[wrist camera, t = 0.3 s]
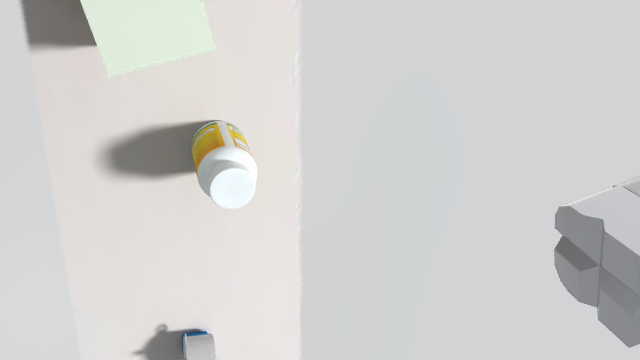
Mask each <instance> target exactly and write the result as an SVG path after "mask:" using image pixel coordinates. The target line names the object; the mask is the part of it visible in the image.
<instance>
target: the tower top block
mask: <svg viewBox="0 0 640 360" xmlns="http://www.w3.org/2000/svg"><path fill="white" fill-rule="evenodd" d="M80 1H81V4H82V7H83V9H84V12H85V15H86V17H87V20H88V23H89V25H90V28H91V31H92V33H93V36H94V39H95V41H96V44H97V47H98V49H99V52H100V55H101V57H102V60H103V63H104V65H105V68H106V71H107V73H108V76H109V77H113V76H117V75H121V74H125V73H129V72H132V71H136V70H140V69H144V68H148V67H152V66H156V65H160V64H164V63H168V62H171V61H175V60H179V59H183V58H187V57H191V56H195V55H199V54H203V53H207V52H211V51H214V50H216V48H215V44H214V40H213V36H212V33H211V29H210V25H209V21H208V18H207V14H206V10H205V6H204V3H203V0H80Z"/></svg>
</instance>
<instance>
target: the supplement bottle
mask: <svg viewBox="0 0 640 360" xmlns="http://www.w3.org/2000/svg"><path fill="white" fill-rule="evenodd" d="M191 152H192V157H193V161H194V165H195V169H196V173H197V177H198V181H199V184H200V186H201V188H202V190H203V191H204V192H205V193H206V194H207V195H208V196H210V197H211V198H212V200H213V201H214V203H215V204H217V205H218V206H220V207H222V208H225V209H236V208H240V207H242V206H244V205H245V204H247V203H248V202H249V201H250V200H251V199H252V197H253V195H254V193H255V187H256V186H255V182H256V178H257V166H256V163H255V160H254V158H253V156H252V153H251V151H250V149H249V147H248V145H247V142H246V140H245V138H244V136H243V134H242V132H241V131H240V130H239V129H238V128H237V127H236V126H235V125H233V124H231V123H229V122H225V121H214V122H210V123H208V124H206V125H204V126H202V127H201V128H200V129H199V130H198V131H197V132H196V133H195V135H194V136H193V139H192V142H191Z"/></svg>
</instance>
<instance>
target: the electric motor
mask: <svg viewBox="0 0 640 360" xmlns="http://www.w3.org/2000/svg"><path fill="white" fill-rule="evenodd" d="M182 351H183V355H184V357H183V360H216V354H215V344H214V339H213V335H212V334H207V332H200V333H191V334H186V333H185V334H183V335H182Z"/></svg>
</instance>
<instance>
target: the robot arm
mask: <svg viewBox="0 0 640 360" xmlns="http://www.w3.org/2000/svg"><path fill="white" fill-rule="evenodd" d="M555 228H556V229H557V230H558V231H559V232H560V233H561V234H562V235H563V236H562V237H561V239H560V241H559V243H558V244H557V246H556V247H555V250H554V256H555V267H556V269H557V272H558V275H559V278H560V280H561V282H562V283H563V285H564V286H565V288H566V289H567V290H568V292H569V293H570V294H571V295H572V296H573V297H574V298H576V299H577V300H578V301H579V302H581V303H585V304H588V305H591V306H594V307H597V313H598V320H599V321H600V322H602V324H604V325H605V326H606V327H607V328H608V329H609V330H610V331H611V332H613V334H614V335H616V336H617V337H618V338H619V339H620V340H621V341H622V342H623V343H624V344H625V345H627V346H628V347H633V346H635V345H638V344H640V176H638V177H636V178H633V179H630V180H628V181H625V182H622V183H620V184H617V185H615V186H613V187H612V188H608V189H605V190H603V191H600V192H597V193H594V194H592V195H589V196H587V197H584V198H581V199H578V200H576V201H573V202H570V203H568V204H565V205H562V206H560V207H559V208H558V210H557V212H556V215H555Z"/></svg>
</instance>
